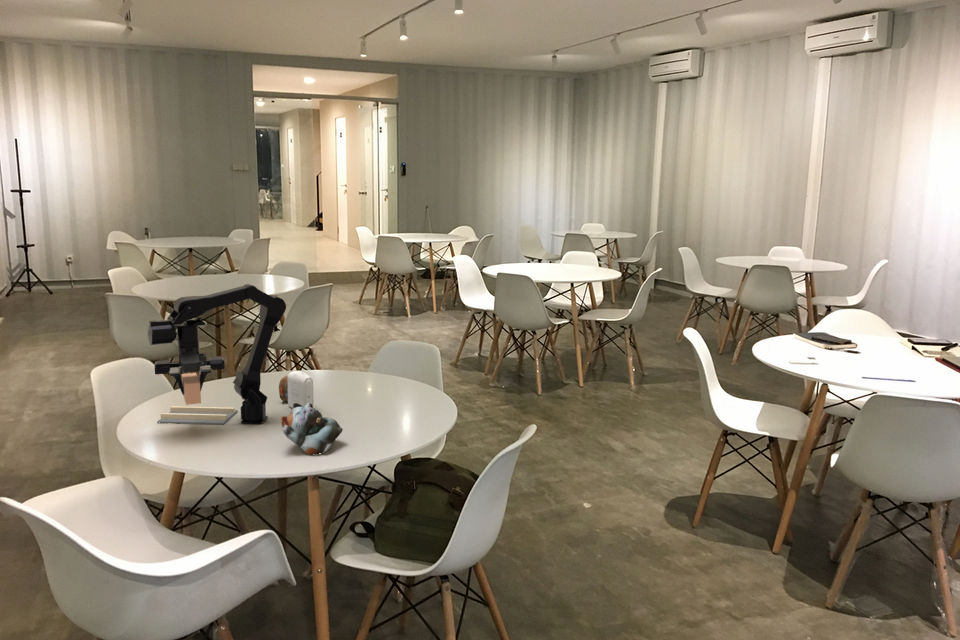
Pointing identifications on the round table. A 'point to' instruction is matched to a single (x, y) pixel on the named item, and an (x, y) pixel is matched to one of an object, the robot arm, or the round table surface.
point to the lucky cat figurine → (310, 429)
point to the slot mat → (198, 415)
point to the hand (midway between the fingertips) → (191, 393)
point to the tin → (283, 388)
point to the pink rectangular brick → (191, 388)
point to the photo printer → (299, 388)
